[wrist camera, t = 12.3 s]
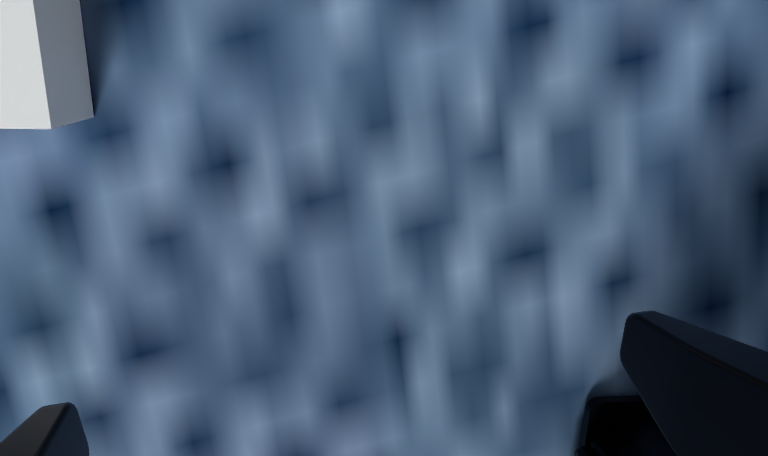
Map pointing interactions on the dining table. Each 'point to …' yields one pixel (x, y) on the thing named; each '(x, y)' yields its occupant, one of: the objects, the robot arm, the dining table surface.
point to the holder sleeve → (43, 65)
